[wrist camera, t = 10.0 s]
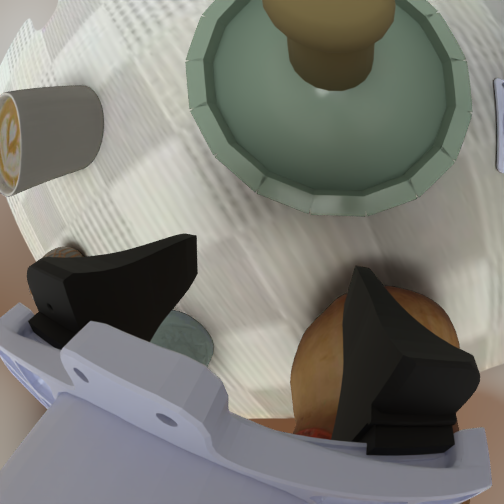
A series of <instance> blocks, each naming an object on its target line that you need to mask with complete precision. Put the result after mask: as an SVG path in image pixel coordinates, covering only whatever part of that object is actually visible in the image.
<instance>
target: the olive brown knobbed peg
mask: <svg viewBox="0 0 504 504" xmlns="http://www.w3.org/2000/svg"><path fill="white" fill-rule="evenodd" d="M262 3H263V8H264V10H265V11H266V13H267V15H268V16H269V18H270V20H271V21H272V23H273V24H274V26H275V27H276V28H277V29H279V30H280V31H281V32H282V33H283V34H284V35H286V36H287V45H288V54H289V61H290V63H291V65H292V67H293V69H294V71H295V72H296V73H297V74H298V75H299V76H300V77H301V78H302V79H303V80H304V81H305V82H307V83H309V84H311V85H312V86H314V87H316V88H320V89H323V90H327V91H344V90H348V89H351V88H355V87H356V86H358V85H359V84H360V83H362V82H363V81H365V79H366V78H367V76H368V75H369V74H370V72H371V70H372V65H373V61H374V45H375V43H376V42H377V41H379V40H380V39H382V38H383V36H384V35H385V33H386V32H387V30H388V29H389V28H390V26H391V25H392V23H393V22H394V15H395V8H396V4H395V0H262Z"/></svg>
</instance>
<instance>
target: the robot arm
mask: <svg viewBox="0 0 504 504" xmlns="http://www.w3.org/2000/svg"><path fill="white" fill-rule="evenodd" d="M502 83H503V85H504V80H502V79H499V78H496V79H494V88H495V98H496V110H497V170H498V171H499V172H501V173H504V88H503V86H502ZM197 274H198V272H197V236H196V235H190V234H179V235H175V236H172V237H168V238H165V239H162V240H159V241H156V242H153V243H149V244H146V245H143V246H139V247H136V248H132V249H129V250H125V251H121V252H116V253H111V254H104V255H97V256H89V257H67V258H65V257H43V258H41V259H40V260H38V261H37V262H35V263H34V264H32V265H31V266H29V268H28V270H27V280H28V284H29V288H30V291H31V293H32V296H33V298H34V301H35V303H36V306H37V308H38V311H39V312H38V313H37V314H36V315H34V314H33V312H32V311H31V310H30V309H28V308H27V307H26V306H24V305H23V304H22V303H18V304H17V305H15V306H14V307H13V308H12V309H10V310H9V311H8V312H7V313H6V314H4V315H3V316H2V317H1V318H0V357H1V359H2V360H3V362H4V363H5V364H6V366H7V368H8V369H9V371H10V372H11V373H12V374H13V375H14V376H15V377H16V378H17V379H18V380H19V381H20V382H21V383H22V384H23V385H24V386H25V387H26V388H27V390H28V391H29V392H30V393H31V394H33V395H34V397H35V398H36V399H38V400H39V401H40V402H41V403H42V404H43V405H44V406H45V407H46V408H47V409H48V410H47V411H46V412H45V414H44V415H43V416H42V417H41V418H40V420H39V421H38V422H37V423H36V425H35V426H34V427H33V429H32V430H31V431H30V432H29V434H28V435H27V436H26V437H25V439H24V440H23V441H22V442H21V444H20V445H19V446H18V448H17V449H16V450H15V452H14V453H13V454H12V456H11V457H10V458H9V460H8V461H7V462H6V464H5V465H4V466H3V468H2V469H1V471H0V504H460V503H462V502H464V501H466V500H468V499H470V498H472V497H474V496H476V495H478V494H480V493H482V492H483V491H485V490H487V489H489V488H490V487H491V486H492V478H491V468H490V459H489V452H488V446H487V440H486V434H485V429H484V428H483V427H480V428H472V429H464V430H460V431H457V432H455V433H453V426H452V425H455V424H456V422H457V418H456V412H457V411H458V410H459V409H460V408H461V407H462V406H463V405H464V404H465V403H466V402H467V400H468V399H469V398H470V397H471V396H472V395H473V393H474V392H475V391H476V389H477V387H478V384H479V382H480V373H479V370H478V367H477V365H476V362H475V359H474V356H473V355H471V354H469V353H467V352H465V351H463V350H461V349H459V348H457V347H455V346H453V345H451V344H450V343H448V342H446V341H445V340H443V339H441V338H440V337H438V336H437V335H435V334H434V333H432V332H431V331H430V330H428V329H427V328H426V327H424V326H423V325H422V324H421V323H419V322H418V321H417V320H416V319H415V318H414V317H412V316H411V315H410V314H409V313H408V312H407V311H406V310H405V309H404V308H403V307H402V306H401V305H400V304H399V303H398V302H397V301H396V300H395V299H394V297H393V296H392V295H391V294H390V293H389V292H388V291H387V289H386V288H385V287H384V286H383V284H382V283H381V282H380V281H379V279H378V278H377V277H376V276H375V274H374V273H373V272H372V271H371V270H370V269H369V268H365V267H360V266H355V269H354V273H353V277H352V280H351V283H350V287H349V290H348V293H347V297H346V300H345V303H344V310H343V322H342V328H343V376H342V384H341V391H340V398H339V404H338V409H337V414H336V419H335V424H334V429H333V433H332V437H331V440H328V439H321V438H314V437H307V436H301V435H296V434H290V433H285V432H280V431H275V430H272V429H270V428H267V427H265V426H262V425H260V424H257V423H255V422H252V421H250V420H248V419H246V418H243V417H241V416H239V415H237V414H234V413H232V412H230V411H229V409H228V394H227V392H226V389H225V387H224V385H223V382H222V381H221V379H220V378H219V377H218V376H216V375H215V374H214V373H213V372H212V371H211V370H210V369H209V368H208V367H207V366H205V365H204V364H202V363H200V362H198V361H196V360H194V359H192V358H190V357H188V356H186V355H183V354H181V353H178V352H175V351H172V350H169V349H166V348H164V347H161V346H158V345H156V344H153V343H151V342H150V341H151V339H152V338H153V336H154V334H155V333H156V331H157V329H158V328H159V326H160V325H161V323H162V322H163V321H164V319H165V318H166V317H167V316H168V314H169V313H170V312H171V311H172V309H173V308H174V307H175V306H176V304H177V303H178V302H179V301H180V299H181V298H182V297H183V296H184V294H185V293H186V292H187V291H188V289H189V288H190V286H191V284H192V283H193V281H194V279H195V277H196V275H197Z"/></svg>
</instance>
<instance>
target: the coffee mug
mask: <svg viewBox="0 0 504 504" xmlns="http://www.w3.org/2000/svg"><path fill="white" fill-rule="evenodd" d="M103 129H104V119H103V111H102V106H101V103H100V101H99V98H98V96H97V95H96V93H95V92H94V91H93V90H92V89H91V88H89V87H87V86H82V85H80V86H55V87H42V88H32V89H23V90H16V91H10V92H5V93H3V94H1V95H0V193H1V194H2V195H4V196H6V197H10V196H13V195H15V194H17V193H20V192H22V191H24V190H27V189H29V188H32V187H34V186H37V185H39V184H42V183H44V182H47V181H50V180H52V179H55V178H58V177H61V176H63V175H66V174H69V173H72V172H75V171H78V170H81V169H84V168H86V167H87V166H88V165H89V164H90V163H91V162H92V161H93V160H94V158H95V157H96V155H97V153H98V151H99V148H100V145H101V142H102V136H103Z"/></svg>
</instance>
